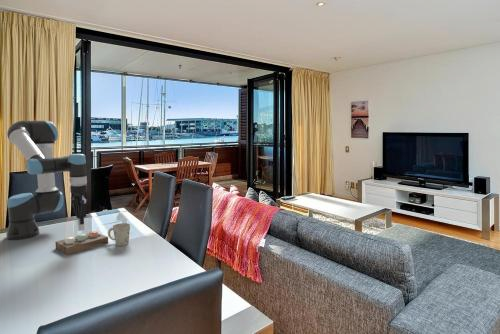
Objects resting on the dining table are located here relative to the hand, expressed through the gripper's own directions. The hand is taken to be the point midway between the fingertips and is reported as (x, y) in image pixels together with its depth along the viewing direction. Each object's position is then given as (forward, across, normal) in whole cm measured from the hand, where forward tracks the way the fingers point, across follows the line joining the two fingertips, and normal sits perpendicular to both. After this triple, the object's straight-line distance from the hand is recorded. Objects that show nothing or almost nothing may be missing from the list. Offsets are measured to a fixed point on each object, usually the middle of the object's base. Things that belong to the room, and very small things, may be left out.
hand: (81, 229), depth 164 cm
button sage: (+7, +1, 0) cm, 7 cm away
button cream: (+7, +1, -6) cm, 9 cm away
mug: (+8, +13, +13) cm, 20 cm away
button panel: (+8, +1, 0) cm, 8 cm away
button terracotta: (+7, +1, +6) cm, 9 cm away
